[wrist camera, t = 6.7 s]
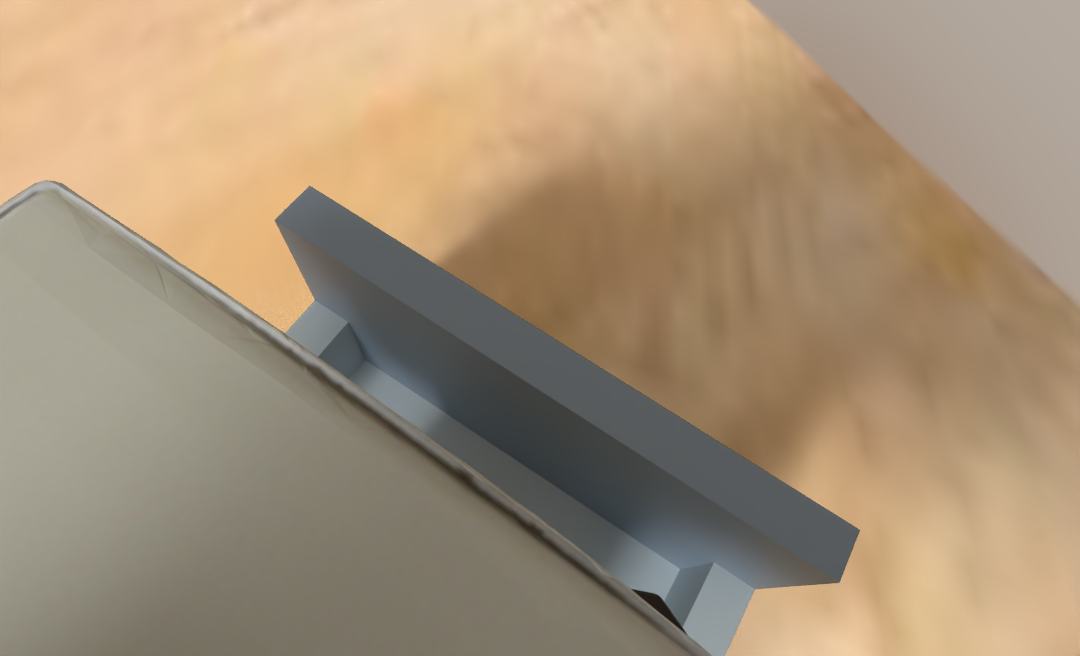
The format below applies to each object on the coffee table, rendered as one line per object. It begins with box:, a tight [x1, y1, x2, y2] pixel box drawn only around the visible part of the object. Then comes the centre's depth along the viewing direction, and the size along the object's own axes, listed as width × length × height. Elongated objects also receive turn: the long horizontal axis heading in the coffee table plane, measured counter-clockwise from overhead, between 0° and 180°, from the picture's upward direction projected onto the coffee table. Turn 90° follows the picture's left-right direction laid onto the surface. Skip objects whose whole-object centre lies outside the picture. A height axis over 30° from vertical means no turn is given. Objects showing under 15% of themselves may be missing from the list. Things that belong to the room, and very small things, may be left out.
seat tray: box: [275, 186, 860, 656], centre depth 13 cm, size 12×12×7 cm
